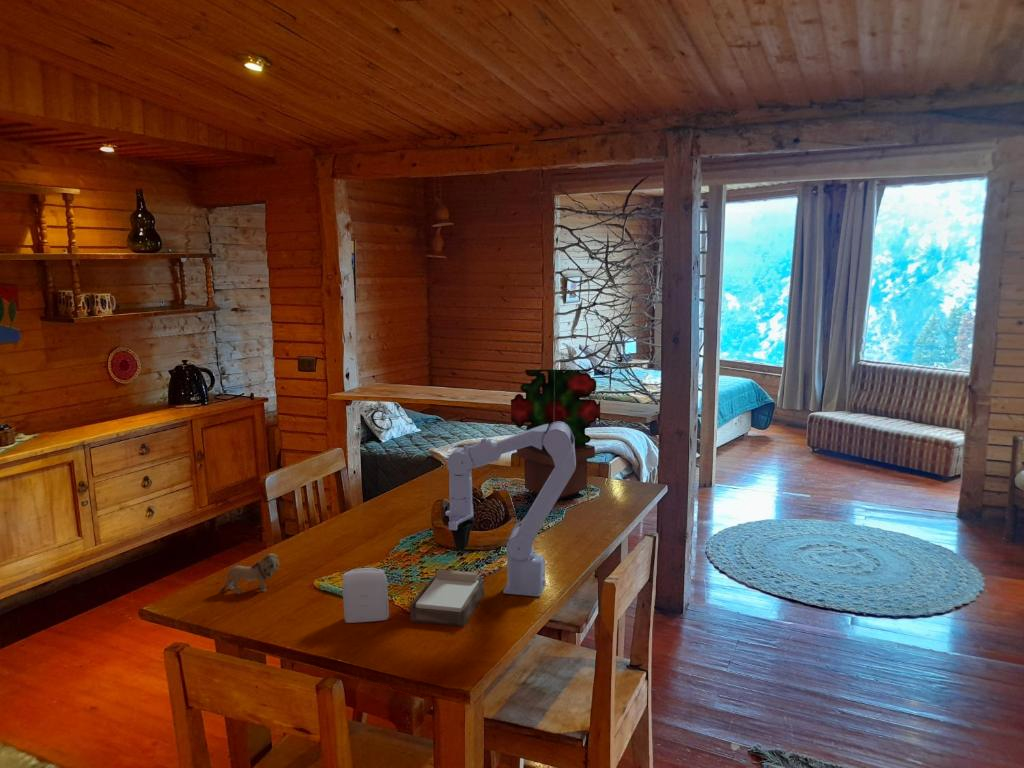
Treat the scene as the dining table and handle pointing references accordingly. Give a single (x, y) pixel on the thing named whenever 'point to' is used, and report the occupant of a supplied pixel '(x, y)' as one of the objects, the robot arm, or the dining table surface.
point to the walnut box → (447, 616)
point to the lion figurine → (253, 572)
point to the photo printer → (365, 595)
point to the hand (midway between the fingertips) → (461, 547)
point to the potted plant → (551, 407)
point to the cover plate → (449, 591)
